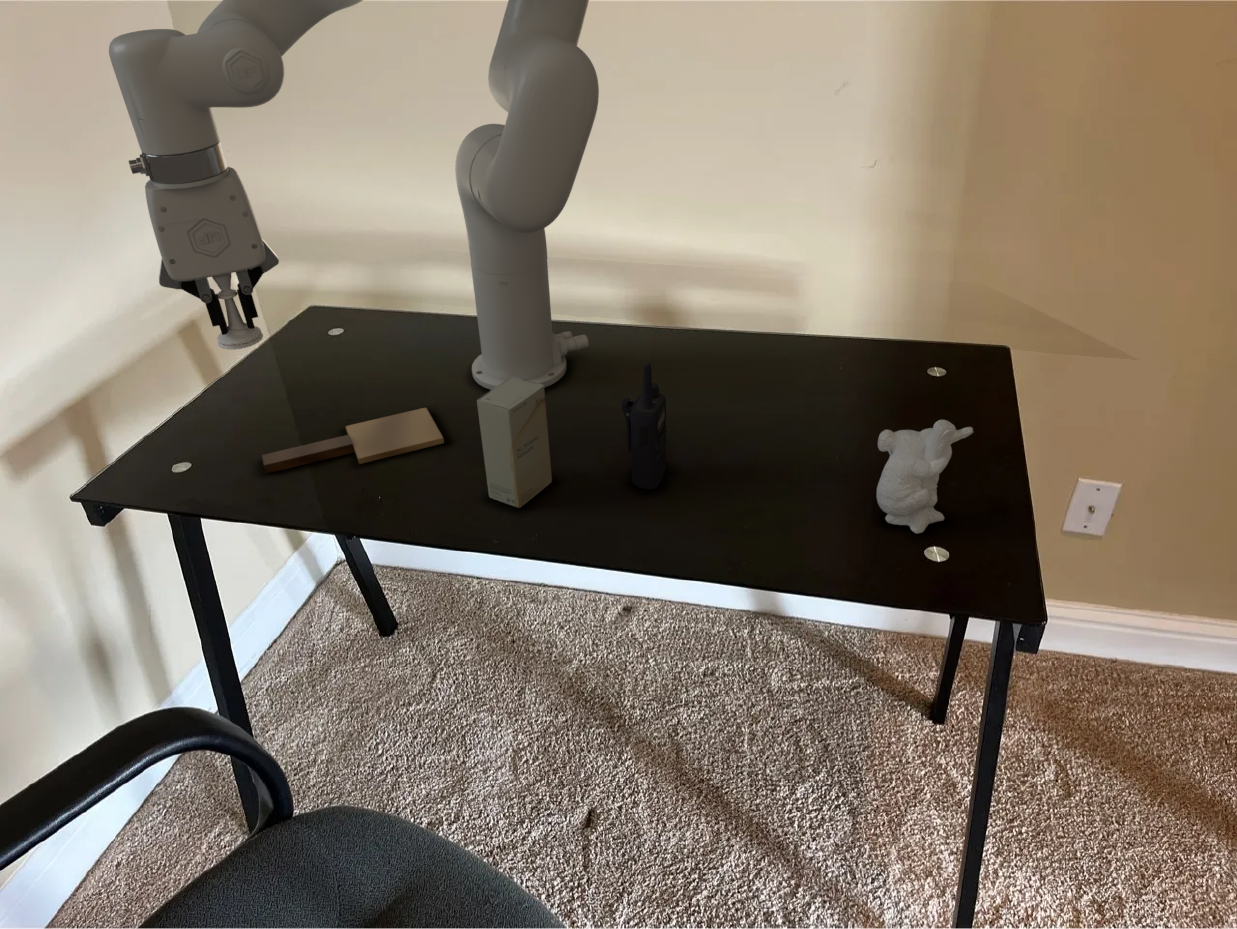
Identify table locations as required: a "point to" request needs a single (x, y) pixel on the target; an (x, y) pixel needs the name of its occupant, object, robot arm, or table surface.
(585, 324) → the table surface
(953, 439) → the koala figurine
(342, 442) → the spatula
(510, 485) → the cosmetic box
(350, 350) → the table surface
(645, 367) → the two-way radio
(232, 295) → the chess piece
